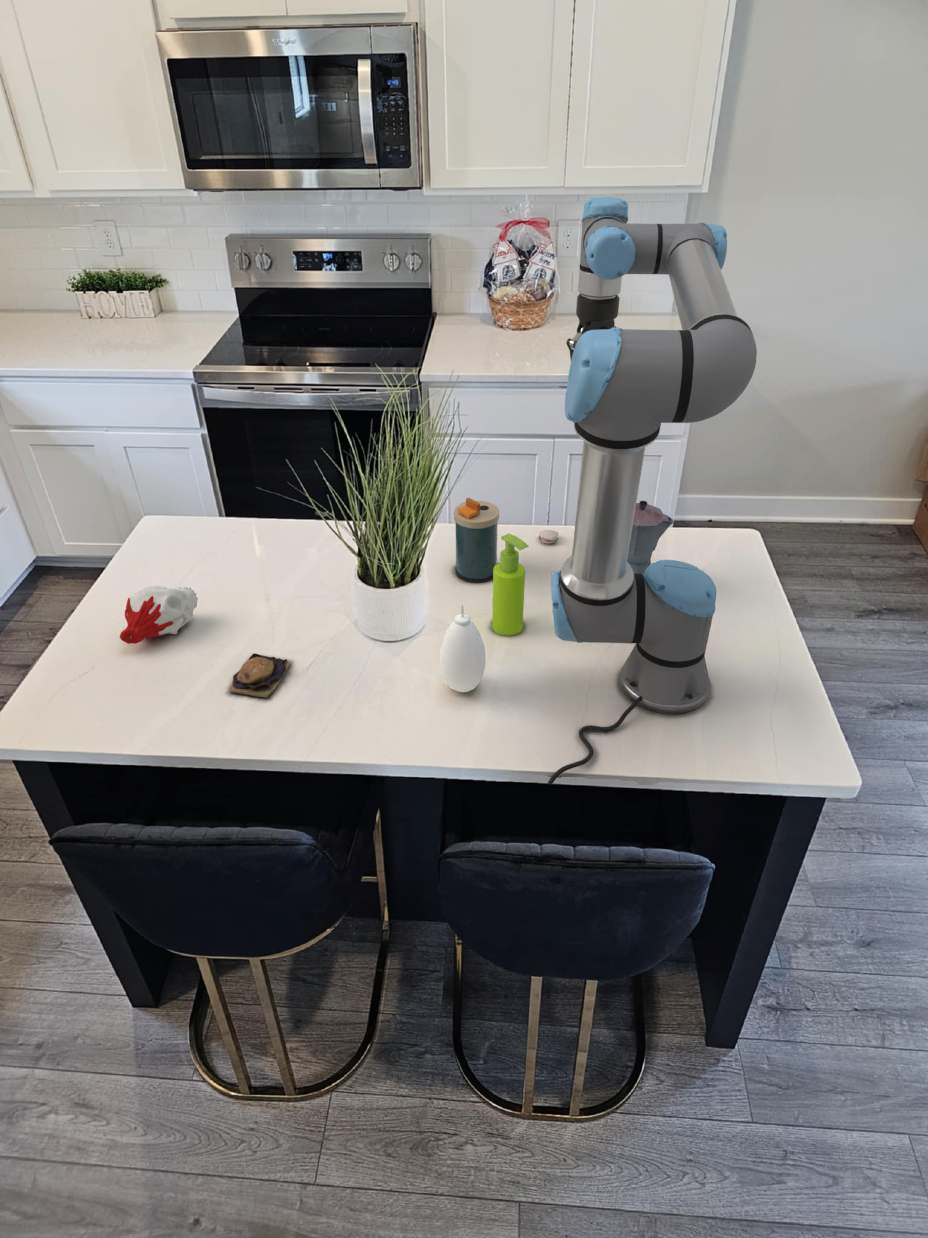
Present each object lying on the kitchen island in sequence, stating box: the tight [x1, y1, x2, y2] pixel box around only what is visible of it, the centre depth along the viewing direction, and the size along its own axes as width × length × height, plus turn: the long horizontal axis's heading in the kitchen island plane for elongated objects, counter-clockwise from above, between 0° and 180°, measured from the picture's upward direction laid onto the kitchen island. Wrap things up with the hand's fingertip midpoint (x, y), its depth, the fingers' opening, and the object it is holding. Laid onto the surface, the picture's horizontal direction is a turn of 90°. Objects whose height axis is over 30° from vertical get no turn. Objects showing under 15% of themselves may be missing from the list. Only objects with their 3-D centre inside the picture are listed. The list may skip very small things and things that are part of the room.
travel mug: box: [453, 500, 500, 584], centre depth 177 cm, size 9×9×14 cm
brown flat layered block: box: [229, 652, 291, 699], centre depth 151 cm, size 11×8×4 cm
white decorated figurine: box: [119, 585, 199, 644], centre depth 161 cm, size 9×11×15 cm
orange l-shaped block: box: [458, 497, 480, 518], centre depth 170 cm, size 3×4×2 cm
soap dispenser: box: [491, 533, 529, 637], centre depth 158 cm, size 6×7×20 cm
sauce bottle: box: [439, 603, 486, 693], centre depth 144 cm, size 8×8×18 cm
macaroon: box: [538, 529, 559, 544], centre depth 191 cm, size 4×5×2 cm
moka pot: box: [627, 500, 675, 574], centre depth 170 cm, size 10×15×20 cm, turn 78°
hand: (588, 419), depth 165 cm, fingers closed
